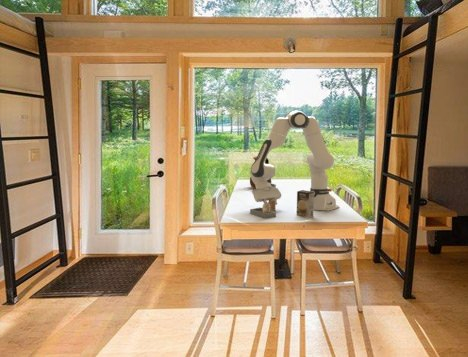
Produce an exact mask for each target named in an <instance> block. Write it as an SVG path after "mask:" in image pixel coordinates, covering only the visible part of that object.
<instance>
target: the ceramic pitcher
mask: <svg viewBox="0 0 468 357" xmlns="http://www.w3.org/2000/svg"><path fill="white" fill-rule="evenodd" d="M257 156H258V155H257ZM257 156H253V157H252V159H253V160H254V161H255V160H256V158H257ZM264 164H270V161H269V158H268V157H267V158H266V160H265V162H264ZM267 182H268V183H271V184H272V178H271V179H269V180H267ZM249 185H250V187H252V188H253V189H256V186H255V184H254V183H253V181H252V179H251V176H250V177H249Z"/></svg>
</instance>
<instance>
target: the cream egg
mask: <svg viewBox="0 0 468 357" xmlns="http://www.w3.org/2000/svg"><path fill="white" fill-rule="evenodd" d="M262 208H263V213H265V214H266V213H270V204H268V203H264V202H263V204H262Z"/></svg>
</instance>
